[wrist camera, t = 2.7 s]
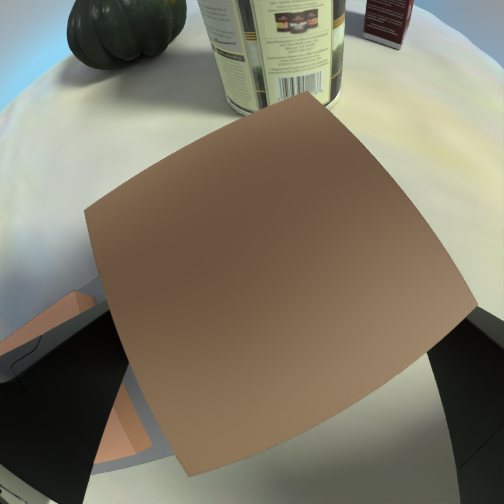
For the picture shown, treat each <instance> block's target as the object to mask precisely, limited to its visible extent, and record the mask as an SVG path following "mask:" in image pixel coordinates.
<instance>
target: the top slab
mask: <svg viewBox="0 0 504 504" xmlns="http://www.w3.org/2000/svg"><path fill="white" fill-rule="evenodd" d="M93 306H95V302H94V299H93V297H92V296H89V295H86V294H83V293H81V292H78V291H75V290H74V291H72V292H71V293H69V294H68V295H66V296H65V297H63V298H62V299H60V300H59V301H57V302H56V303H54V304H53V305H52V306H50V307H49V308H47V309H46V310H44V311H43V312H42V313H40V314H39V315H37V316H36V317H34V318H33V319H32V320H30V321H29V322H28V323H26V324H25V325H23V326H22V327H21V328H19V329H18V330H17V331H15V332H14V333H13V334H11V335H10V336H9V337H7V338H6V339H5V340H3V341H2V342H1V343H0V355H2V354H5V353H7V352H9V351H11V350H13V349H15V348H17V347H19V346H21V345H23V344H25V343H26V342H28V341H30V340H32V339H34V338H36V337H38V336H39V335H41V334H42V335H43V333H45V332H47V331H49V330H50V329H52V328H54V327H56V326H58V325H60V324H61V323H63V322H65V321H67V320H69V319H71V318H73V317H74V316H76V315H78V314H80V313H82V312H84V311H86V310H88V309H89V308H91V307H93ZM152 445H153V444H152V442H151V440H150V439H149V437H148V435H147V433H146V431H145V429H144V427H143V425H142V423H141V421H140V419H139V417H138V415H137V413H136V411H135V409H134V406H133V404H132V402H131V400H130V398H129V395H128V393H127V391H126V389H125V386H124V384H123V382H122V383H121V386H120V389H119V391H118V394H117V397H116V399H115V402H114V405H113V408H112V410H111V413H110V416H109V419H108V422H107V425H106V428H105V430H104V433H103V436H102V439H101V442H100V445H99V449H98V452H97V455H96V458H95V461H94V464H97V463H101V462H106V461H111V460H115V459H119V458H123V457H127V456H131V455H135V454H138V453H139V452H141V451H143V450H145V449H147V448H149V447H150V446H152Z"/></svg>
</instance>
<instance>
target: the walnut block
mask: <svg viewBox="0 0 504 504" xmlns="http://www.w3.org/2000/svg"><path fill="white" fill-rule="evenodd" d="M84 213H85V218H86V223H87V227H88V232H89V236H90V241H91V245H92V249H93V253H94V257H95V261H96V265H97V269H98V272H99V276H100V279H101V283H102V286H103V290H104V293H105V296H106V299H107V302H108V306H109V309H110V312H111V315H112V318H113V320H114V323H115V326H116V329H117V332H118V334H119V337H120V340H121V343H122V345H123V348H124V350H125V353H126V355H127V358H128V360H129V363H130V365H131V368H132V370H133V372H134V375H135V377H136V379H137V381H138V384H139V386H140V388H141V390H142V392H143V395H144V397H145V399H146V401H147V403H148V405H149V407H150V409H151V411H152V413H153V415H154V417H155V419H156V421H157V423H158V425H159V427H160V429H161V431H162V432H163V434H164V436H165V438H166V440H167V442H168V443H169V445H170V447H171V449H172V450H173V452H174V454H175V456H176V457H177V459H178V461H179V462H180V464H181V466H182V467H183V469H184V470H185V472H186V474H187V475H188V477H191V476H194V475H198V474H201V473H204V472H207V471H211V470H214V469H217V468H220V467H222V466H225V465H228V464H231V463H234V462H236V461H239V460H242V459H244V458H247V457H249V456H252V455H254V454H257V453H259V452H262V451H264V450H266V449H269V448H271V447H273V446H275V445H278V444H280V443H282V442H284V441H286V440H288V439H290V438H293V437H295V436H297V435H299V434H301V433H303V432H305V431H307V430H309V429H310V428H312V427H314V426H316V425H318V424H320V423H322V422H324V421H325V420H327V419H329V418H331V417H333V416H334V415H336V414H338V413H339V412H341V411H343V410H345V409H346V408H348V407H350V406H351V405H353V404H354V403H356V402H358V401H359V400H361V399H362V398H364V397H365V396H367V395H369V394H370V393H372V392H373V391H375V390H376V389H378V388H379V387H381V386H382V385H383V384H385V383H386V382H388V381H389V380H391V379H392V378H393V377H395V376H396V375H397V374H399V373H400V372H402V371H403V370H404V369H406V368H407V367H408V366H409V365H411V364H412V363H413V362H415V361H416V360H417V359H418V358H420V357H421V356H422V355H423V354H425V353H426V352H427V351H428V350H430V349H431V348H432V347H433V346H434V345H435V344H437V343H438V342H439V341H440V340H441V339H442V338H444V337H445V336H446V335H447V334H448V333H449V332H450V331H451V330H452V329H454V328H455V327H456V326H457V325H458V324H459V323H460V322H461V321H462V320H463V319H464V318H465V317H466V316H467V315H468V314H469V313H470V312H471V311H472V310H473V309H474V308H475V307H476V306H477V305H478V303H477V301H476V300H475V298H474V296H473V294H472V292H471V291H470V289H469V287H468V285H467V283H466V282H465V280H464V278H463V277H462V275H461V273H460V272H459V270H458V268H457V267H456V265H455V263H454V262H453V260H452V259H451V257H450V255H449V254H448V252H447V251H446V249H445V248H444V246H443V245H442V243H441V242H440V240H439V239H438V237H437V236H436V234H435V233H434V232H433V230H432V229H431V227H430V226H429V224H428V223H427V222H426V220H425V219H424V217H423V216H422V215H421V213H420V212H419V211H418V209H417V208H416V207H415V205H414V204H413V203H412V202H411V200H410V199H409V198H408V196H407V195H406V194H405V193H404V191H403V190H402V189H401V188H400V186H399V185H398V184H397V183H396V182H395V180H394V179H393V178H392V177H391V176H390V174H389V173H388V172H387V171H386V170H385V169H384V167H383V166H382V165H381V164H380V163H379V162H378V161H377V159H376V158H375V157H374V156H373V155H372V154H371V153H370V152H369V151H368V149H367V148H366V147H365V146H364V145H363V144H362V143H361V142H360V141H359V140H358V139H357V138H356V137H355V136H354V135H353V134H352V133H351V132H350V131H349V130H348V129H347V128H346V127H345V126H344V125H343V124H342V123H341V122H340V121H339V120H338V119H337V118H336V117H335V116H334V115H333V114H332V113H331V112H330V111H329V110H328V109H327V108H326V107H325V106H324V105H323V104H321V103H320V102H319V101H318V100H317V99H316V98H315V97H314V96H313V95H311V94H310V93H309V92H308V91H305V92H303V93H300V94H297V95H295V96H292V97H290V98H287V99H285V100H282V101H280V102H277V103H275V104H273V105H270V106H268V107H265V108H263V109H261V110H259V111H256V112H254V113H252V114H250V115H247V116H245V117H243V118H241V119H239V120H237V121H234V122H232V123H230V124H228V125H226V126H224V127H222V128H220V129H218V130H216V131H214V132H212V133H210V134H208V135H206V136H204V137H202V138H200V139H198V140H196V141H195V142H193V143H191V144H189V145H187V146H185V147H183V148H182V149H180V150H178V151H176V152H174V153H173V154H171V155H169V156H167V157H166V158H164V159H162V160H160V161H159V162H157V163H155V164H154V165H152V166H150V167H149V168H147V169H145V170H144V171H142V172H141V173H139V174H137V175H136V176H134V177H133V178H131V179H129V180H128V181H126V182H125V183H123V184H122V185H120V186H119V187H117V188H116V189H114V190H113V191H111V192H110V193H108V194H107V195H105V196H104V197H102V198H101V199H99V200H98V201H96V202H95V203H94V204H92V205H91V206H89V207H88V208H87V209H85V210H84Z"/></svg>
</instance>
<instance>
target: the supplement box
mask: <svg viewBox="0 0 504 504" xmlns="http://www.w3.org/2000/svg"><path fill="white" fill-rule="evenodd" d="M413 2H414V0H367V4H366V13H365V21H364V30H363V37H364V38H366V39H369V40H372V41H375V42H378V43H381V44H384V45H387V46H389V47H392V48H395V49H398V50H400V49H401V46H402V43H403V40H404V37H405V34H406V32H407V30H408V27H409V22H410V18H411V13H412V8H413Z"/></svg>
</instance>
